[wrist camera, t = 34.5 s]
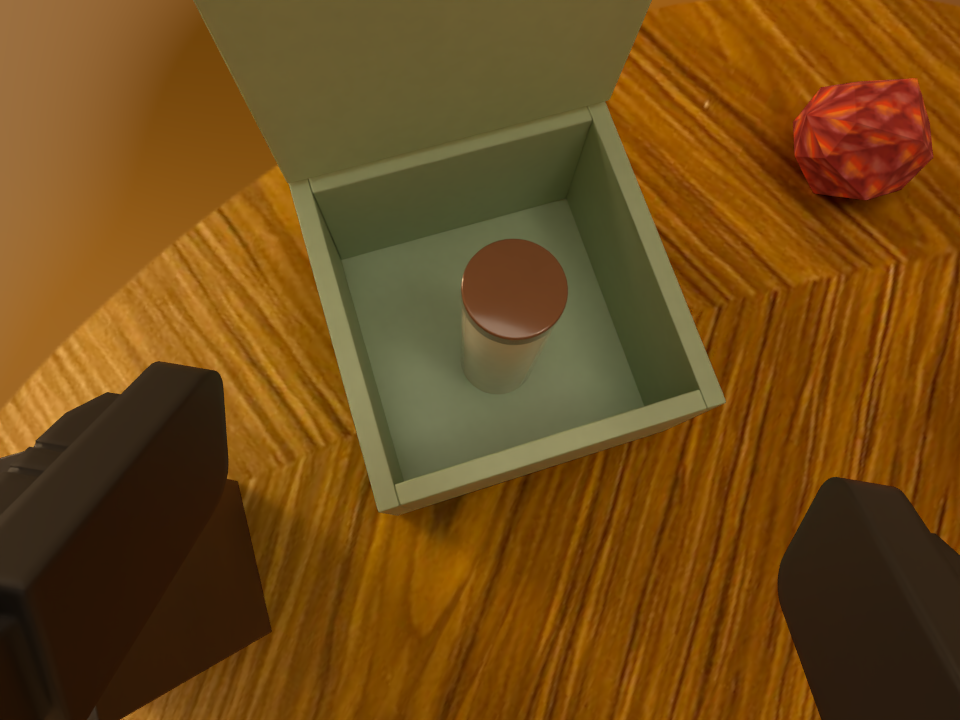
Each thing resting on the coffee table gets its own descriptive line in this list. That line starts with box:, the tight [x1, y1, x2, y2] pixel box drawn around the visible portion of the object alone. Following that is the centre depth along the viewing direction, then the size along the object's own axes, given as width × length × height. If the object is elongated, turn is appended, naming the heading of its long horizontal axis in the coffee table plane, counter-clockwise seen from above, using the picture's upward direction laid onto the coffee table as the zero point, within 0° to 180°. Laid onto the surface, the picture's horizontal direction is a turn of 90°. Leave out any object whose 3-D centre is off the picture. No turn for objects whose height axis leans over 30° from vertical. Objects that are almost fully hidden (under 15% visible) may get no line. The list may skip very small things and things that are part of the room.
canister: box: [460, 239, 568, 394], centre depth 28 cm, size 4×4×10 cm
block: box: [0, 451, 272, 720], centre depth 23 cm, size 7×7×15 cm
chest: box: [289, 101, 726, 515], centre depth 30 cm, size 14×14×8 cm
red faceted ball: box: [793, 78, 933, 200], centre depth 34 cm, size 6×7×8 cm
